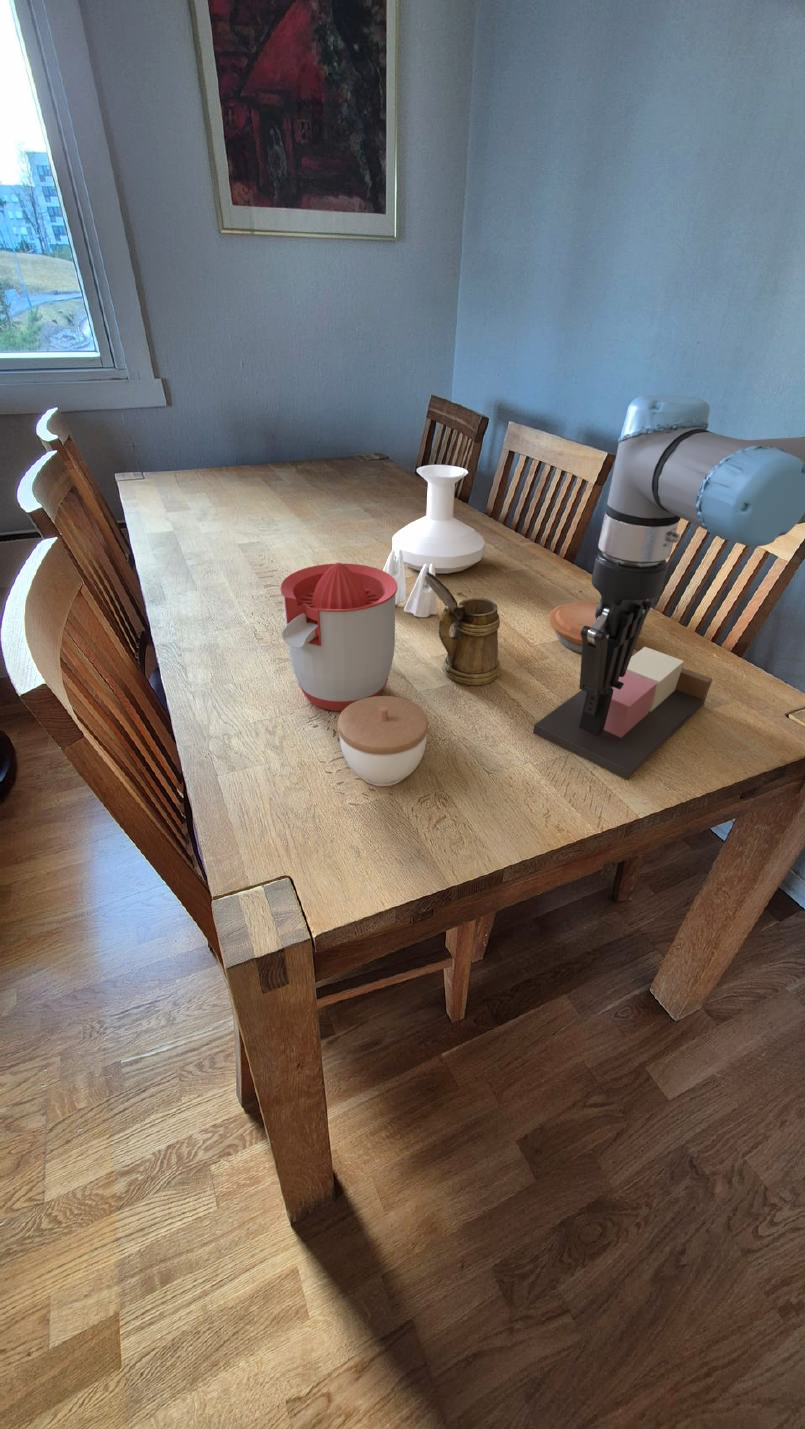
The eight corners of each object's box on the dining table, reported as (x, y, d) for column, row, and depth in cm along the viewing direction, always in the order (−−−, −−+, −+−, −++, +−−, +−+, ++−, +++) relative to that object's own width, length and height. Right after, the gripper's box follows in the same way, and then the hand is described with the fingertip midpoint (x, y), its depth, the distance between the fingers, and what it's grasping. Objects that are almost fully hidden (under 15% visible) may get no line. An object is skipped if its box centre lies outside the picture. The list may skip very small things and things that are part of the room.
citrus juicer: (259, 700, 91) (241, 569, 79) (339, 654, 102) (334, 534, 91) (339, 741, 83) (333, 602, 72) (416, 687, 95) (421, 560, 83)
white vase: (458, 589, 125) (465, 490, 114) (373, 568, 133) (373, 474, 122) (497, 558, 139) (507, 468, 128) (419, 541, 147) (422, 455, 136)
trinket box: (442, 779, 77) (447, 717, 72) (367, 811, 72) (366, 747, 67) (396, 735, 84) (397, 675, 79) (325, 761, 80) (321, 700, 74)
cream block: (675, 690, 92) (684, 661, 90) (650, 712, 88) (660, 681, 85) (637, 675, 96) (645, 646, 93) (611, 695, 91) (619, 665, 88)
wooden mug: (407, 671, 98) (410, 561, 88) (479, 652, 104) (490, 547, 94) (436, 698, 92) (443, 584, 82) (511, 677, 97) (526, 567, 87)
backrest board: (703, 704, 92) (712, 678, 90) (627, 780, 78) (635, 752, 75) (616, 670, 100) (622, 645, 97) (532, 733, 85) (537, 706, 83)
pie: (642, 668, 101) (650, 640, 98) (544, 657, 103) (549, 629, 100) (632, 625, 113) (639, 600, 110) (546, 616, 115) (550, 591, 113)
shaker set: (371, 606, 118) (371, 549, 111) (383, 598, 121) (383, 542, 114) (428, 621, 113) (430, 562, 107) (438, 612, 116) (441, 555, 110)
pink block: (648, 713, 87) (657, 683, 84) (621, 738, 82) (629, 706, 80) (609, 697, 91) (616, 667, 88) (580, 719, 86) (587, 688, 83)
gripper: (637, 581, 62) (591, 765, 75) (690, 549, 70) (640, 721, 83) (571, 561, 66) (538, 739, 79) (628, 532, 74) (590, 699, 87)
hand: (591, 729), depth 81 cm, fingers closed
